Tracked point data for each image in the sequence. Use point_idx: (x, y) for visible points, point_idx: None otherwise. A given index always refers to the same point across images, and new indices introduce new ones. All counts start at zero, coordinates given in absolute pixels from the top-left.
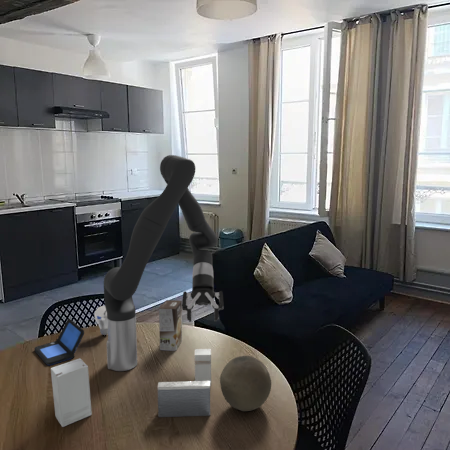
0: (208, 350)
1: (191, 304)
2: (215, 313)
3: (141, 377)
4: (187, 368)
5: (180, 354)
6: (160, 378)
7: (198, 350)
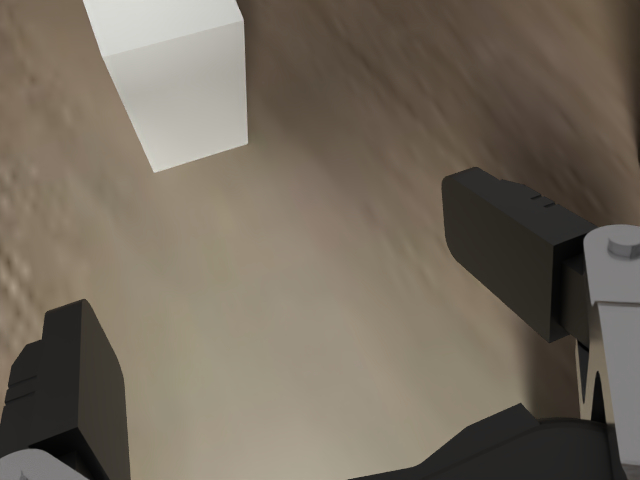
0: (114, 22)
1: (633, 294)
2: (59, 363)
3: (538, 79)
4: (342, 238)
5: (476, 407)
6: (438, 95)
7: (203, 3)
